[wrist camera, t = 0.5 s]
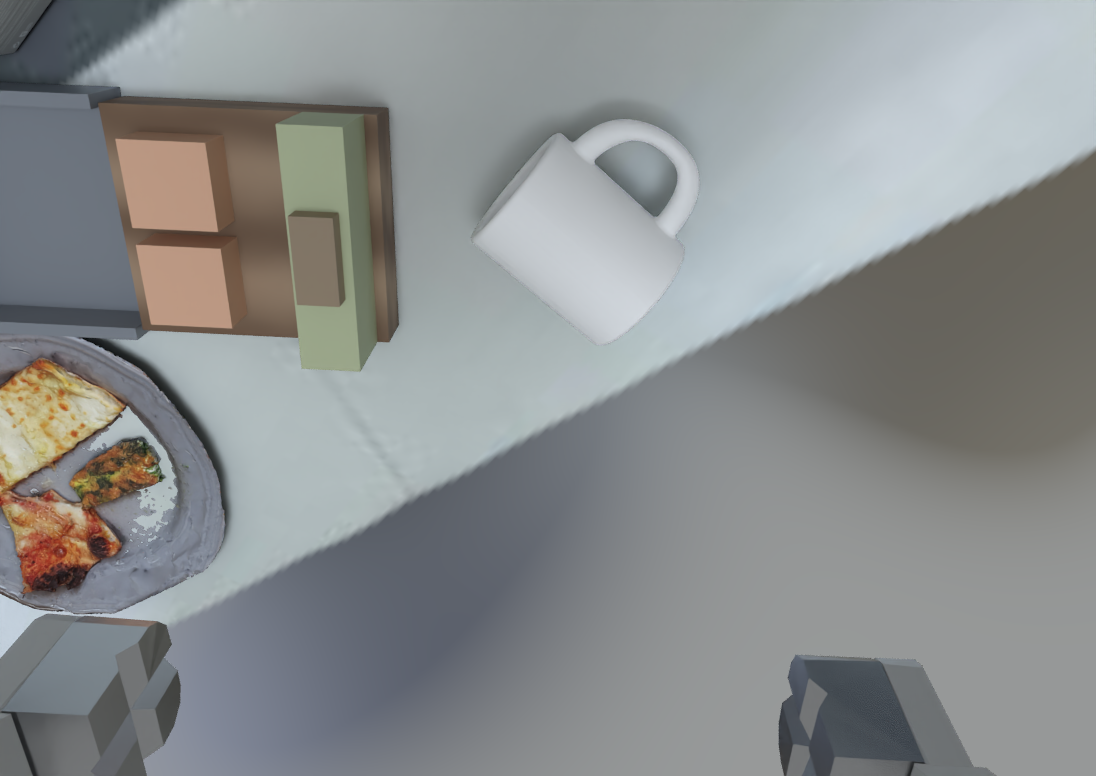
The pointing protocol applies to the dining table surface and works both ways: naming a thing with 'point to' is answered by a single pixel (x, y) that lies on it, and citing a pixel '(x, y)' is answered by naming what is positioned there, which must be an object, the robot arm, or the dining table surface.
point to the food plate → (93, 481)
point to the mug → (590, 230)
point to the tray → (61, 217)
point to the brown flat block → (257, 201)
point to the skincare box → (18, 21)
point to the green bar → (329, 237)
